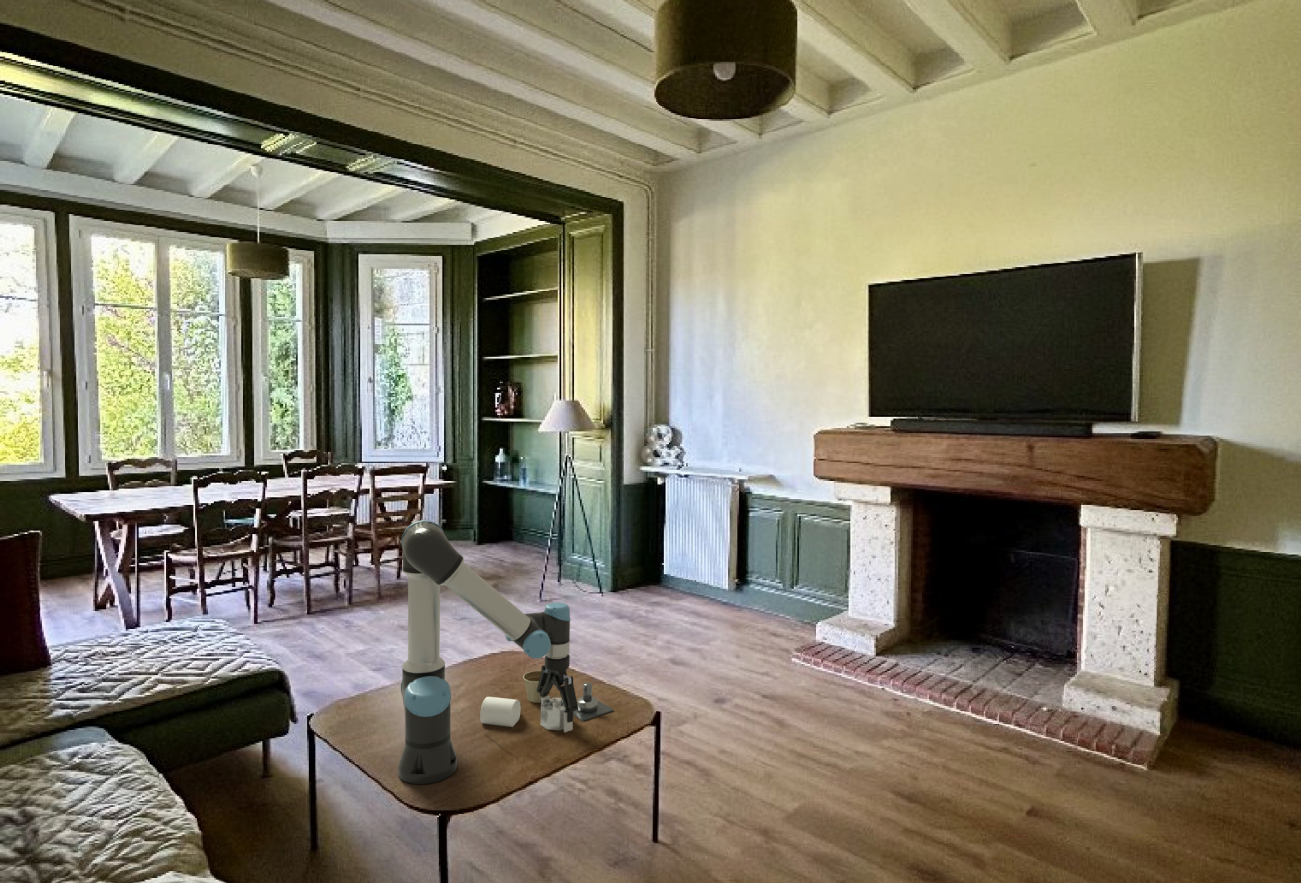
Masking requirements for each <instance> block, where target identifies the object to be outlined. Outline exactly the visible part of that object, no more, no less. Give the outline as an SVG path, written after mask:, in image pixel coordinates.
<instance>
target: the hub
mask: <svg viewBox="0 0 1301 883" xmlns="http://www.w3.org/2000/svg"><path fill="white" fill-rule="evenodd" d="M582 685H583V686H582V688H583V689H582V696H581V697H579V698H577V699H576V700H577V705H578V710H576V711H573V717H575V718H576V719H578V720H580V721H582V722H586V721H589V720H591V719H594V718H597V717H600V716H603V715H605V714H610V713H612V712H614V711H615V709H614V708H612V707H610V706H609V705H607V704H605V703H603V702H602V701H600V700H598V698H597V697H595V696H593V683H592V682H590V681H589V682H588V681H587V682H583V683H582Z"/></svg>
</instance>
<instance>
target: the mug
mask: <svg viewBox="0 0 1301 883" xmlns="http://www.w3.org/2000/svg"><path fill="white" fill-rule="evenodd" d="M520 716H521V702H520V700H518V699H512V698H504V697H503V698H502V697H494V696H486V697H485V698H484V699H483V701H482V704H481V707H480V713H479V717H480V722H481V724H483V725H494V726H501V727H511V728H513V727H514V726H515V725H516V724H517V723H518V721H520Z"/></svg>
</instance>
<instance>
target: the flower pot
mask: <svg viewBox="0 0 1301 883" xmlns="http://www.w3.org/2000/svg"><path fill="white" fill-rule="evenodd" d="M540 676H541V670H532V671H528V672H526V673H524V674H523V676H522V679H523V680H524V681H523V682H524V683H525V692H526V696H527V701H529V702H530V703H541V696H540V693H538V692H537V687H538V683H539V679H540ZM541 688H542V687H541Z"/></svg>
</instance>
